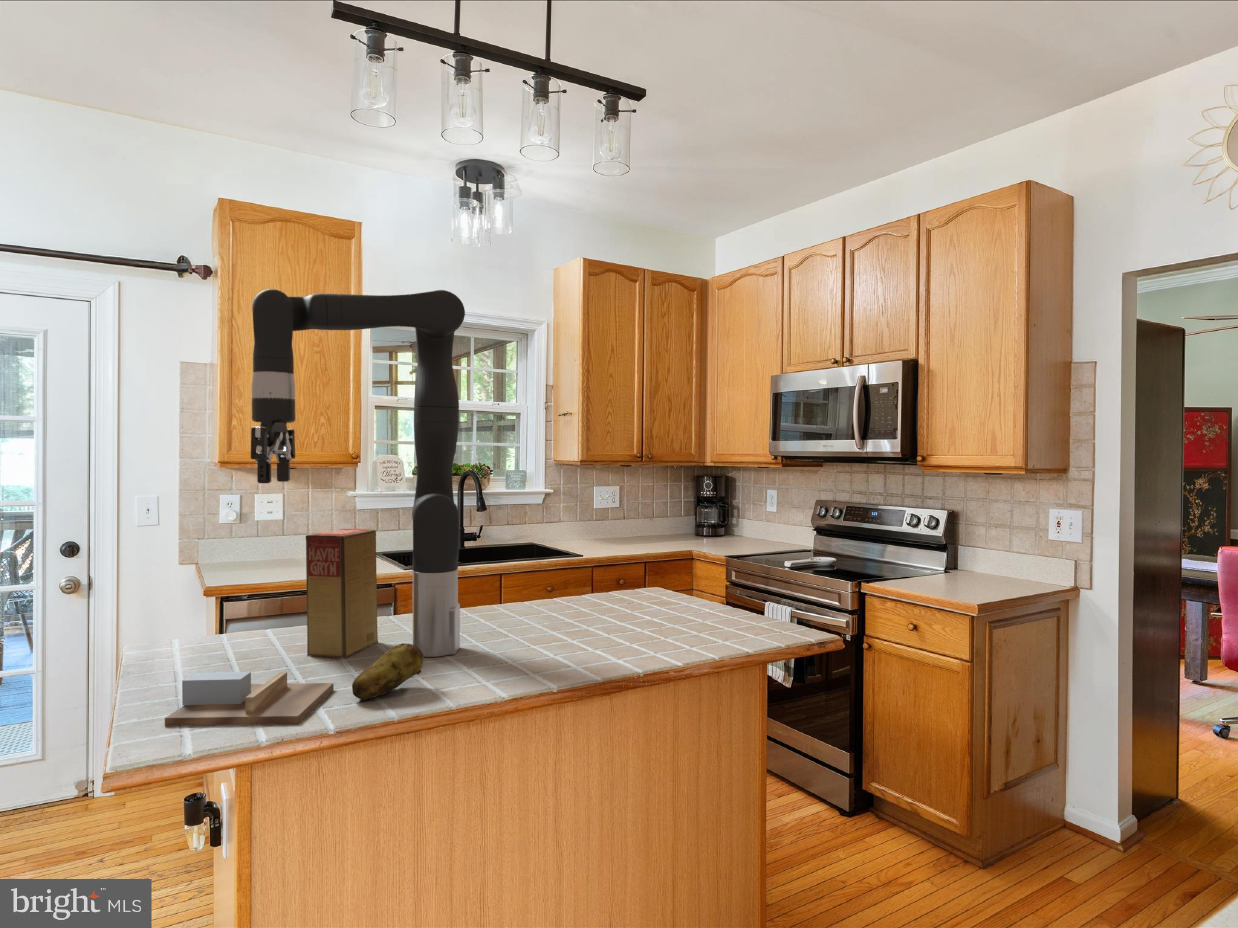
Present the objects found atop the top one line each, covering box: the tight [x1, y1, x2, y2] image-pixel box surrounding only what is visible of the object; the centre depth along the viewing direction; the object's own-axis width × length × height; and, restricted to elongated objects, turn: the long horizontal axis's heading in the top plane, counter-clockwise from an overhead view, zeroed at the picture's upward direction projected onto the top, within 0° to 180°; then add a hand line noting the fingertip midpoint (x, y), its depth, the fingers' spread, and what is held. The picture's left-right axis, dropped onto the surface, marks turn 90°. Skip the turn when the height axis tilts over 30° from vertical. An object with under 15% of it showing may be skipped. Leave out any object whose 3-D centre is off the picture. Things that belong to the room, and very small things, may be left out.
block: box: [181, 671, 252, 706], centre depth 119 cm, size 4×4×9 cm
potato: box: [351, 643, 424, 701], centre depth 127 cm, size 8×13×8 cm, turn 124°
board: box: [164, 671, 334, 727], centre depth 120 cm, size 20×16×4 cm
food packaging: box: [305, 528, 379, 659], centre depth 155 cm, size 13×9×25 cm
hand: (274, 482), depth 139 cm, fingers open, 8 cm apart
